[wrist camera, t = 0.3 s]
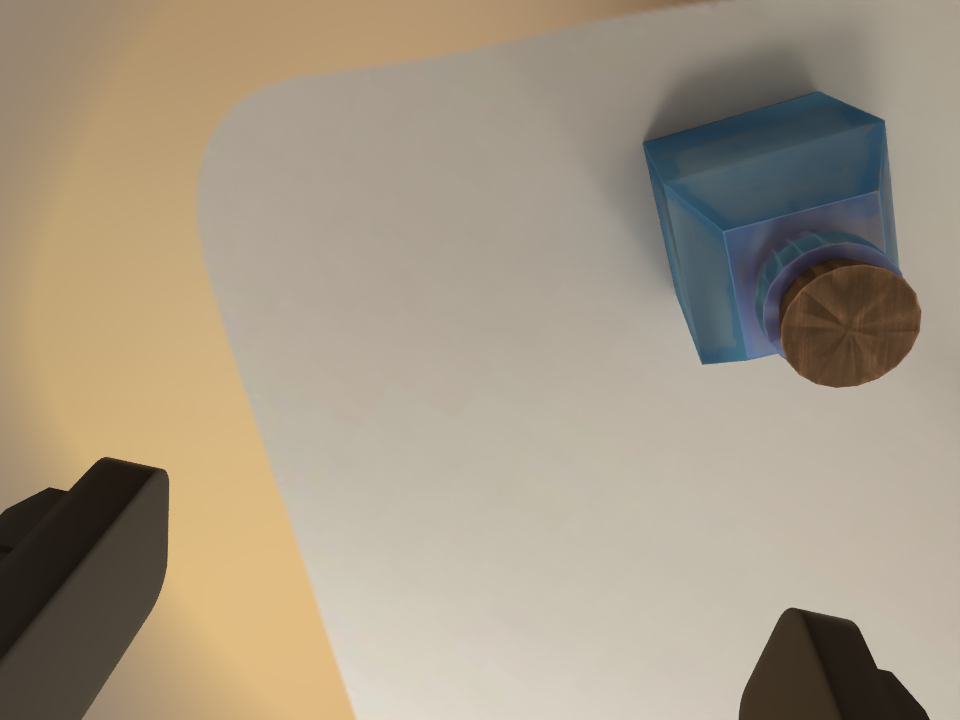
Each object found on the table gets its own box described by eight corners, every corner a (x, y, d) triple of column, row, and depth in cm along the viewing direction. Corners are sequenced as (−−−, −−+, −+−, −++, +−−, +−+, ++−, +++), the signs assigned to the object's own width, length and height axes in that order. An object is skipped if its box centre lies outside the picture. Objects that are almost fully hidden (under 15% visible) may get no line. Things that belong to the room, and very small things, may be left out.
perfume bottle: (642, 142, 29) (692, 240, 18) (819, 91, 28) (985, 164, 17) (676, 296, 31) (738, 462, 21) (840, 255, 30) (997, 410, 19)
